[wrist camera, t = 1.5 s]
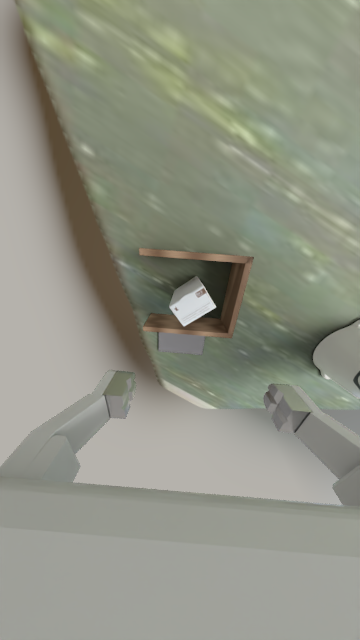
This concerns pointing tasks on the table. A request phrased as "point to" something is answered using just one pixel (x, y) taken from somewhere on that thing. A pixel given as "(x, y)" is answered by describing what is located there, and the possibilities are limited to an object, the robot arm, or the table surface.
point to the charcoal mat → (181, 343)
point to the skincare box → (191, 301)
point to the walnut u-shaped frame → (231, 301)
